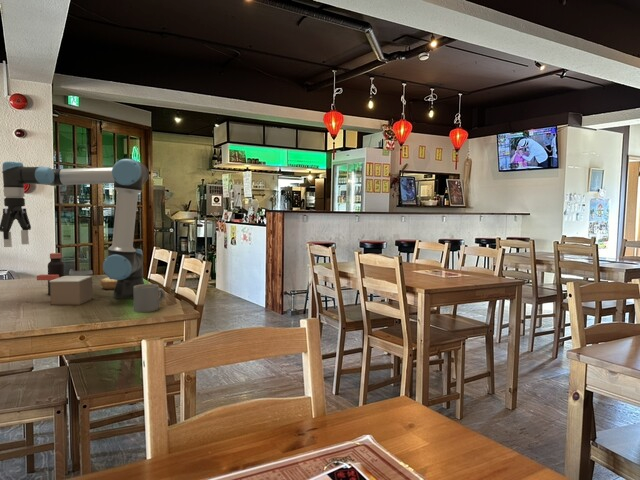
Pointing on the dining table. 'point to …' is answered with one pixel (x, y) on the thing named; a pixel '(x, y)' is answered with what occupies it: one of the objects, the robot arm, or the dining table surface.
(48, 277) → the lid
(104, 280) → the pastry
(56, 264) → the bottle
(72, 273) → the food container
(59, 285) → the carton
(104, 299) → the dining table surface
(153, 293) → the coffee mug
